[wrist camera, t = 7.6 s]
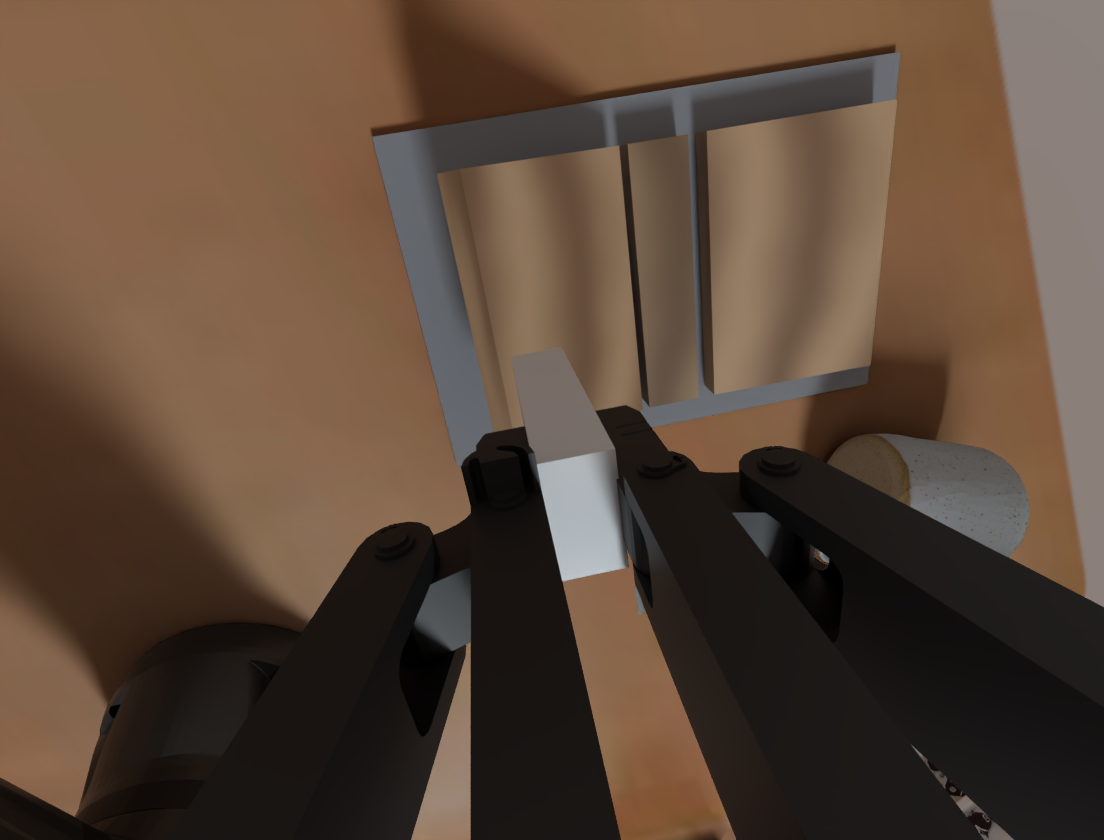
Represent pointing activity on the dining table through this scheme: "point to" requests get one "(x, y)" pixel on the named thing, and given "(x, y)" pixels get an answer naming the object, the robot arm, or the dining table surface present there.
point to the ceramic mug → (943, 484)
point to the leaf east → (792, 243)
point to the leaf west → (546, 272)
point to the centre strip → (661, 266)
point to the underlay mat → (616, 123)
